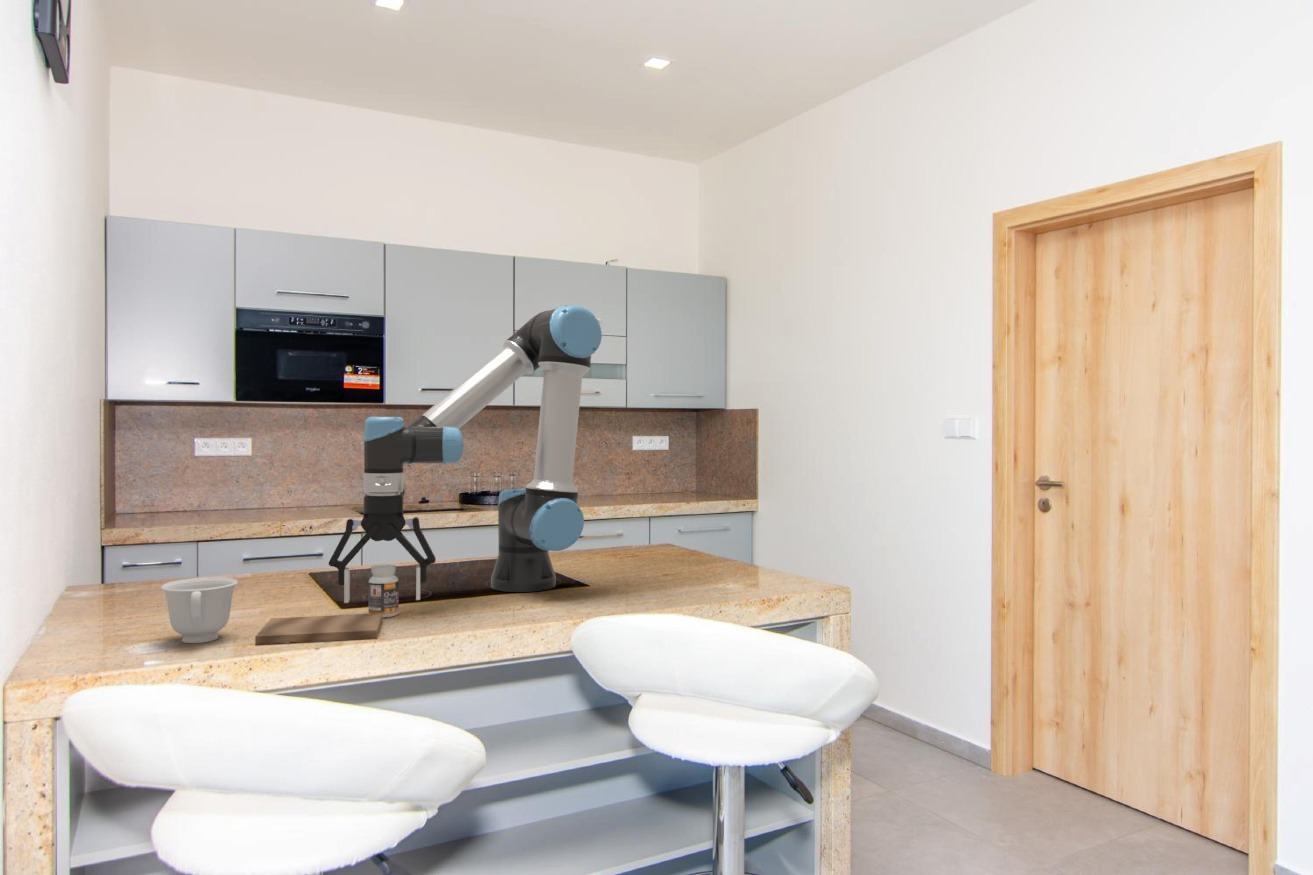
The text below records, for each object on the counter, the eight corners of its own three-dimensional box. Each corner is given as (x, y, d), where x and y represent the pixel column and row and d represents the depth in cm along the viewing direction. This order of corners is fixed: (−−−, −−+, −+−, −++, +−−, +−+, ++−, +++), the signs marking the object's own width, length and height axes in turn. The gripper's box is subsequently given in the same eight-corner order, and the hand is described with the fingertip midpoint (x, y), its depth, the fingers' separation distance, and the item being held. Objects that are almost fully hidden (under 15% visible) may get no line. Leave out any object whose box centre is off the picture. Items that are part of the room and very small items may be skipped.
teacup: (154, 655, 142) (154, 595, 141) (165, 634, 155) (165, 579, 155) (235, 648, 146) (235, 589, 146) (239, 628, 160) (239, 575, 160)
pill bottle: (389, 619, 168) (389, 568, 168) (362, 617, 170) (362, 567, 169) (403, 612, 174) (403, 564, 174) (377, 611, 175) (377, 563, 175)
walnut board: (381, 620, 167) (381, 613, 167) (376, 638, 153) (376, 630, 153) (270, 626, 162) (270, 618, 162) (255, 645, 148) (255, 636, 148)
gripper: (314, 496, 165) (313, 606, 165) (448, 494, 171) (447, 601, 171) (319, 493, 172) (319, 598, 172) (447, 491, 178) (447, 594, 178)
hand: (382, 600), depth 172 cm, fingers open, 13 cm apart
